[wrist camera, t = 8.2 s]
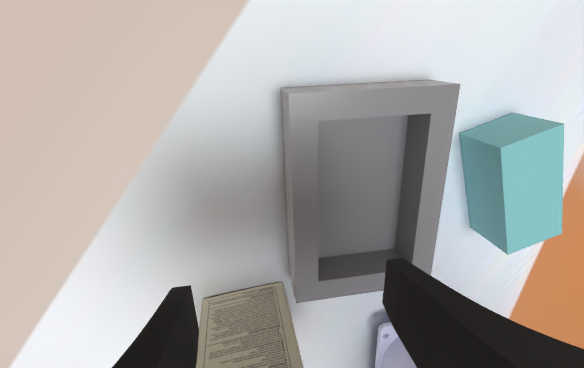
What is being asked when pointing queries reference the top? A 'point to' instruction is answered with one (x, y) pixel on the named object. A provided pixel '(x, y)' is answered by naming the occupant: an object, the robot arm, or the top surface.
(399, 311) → the robot arm
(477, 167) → the peg
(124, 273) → the top surface
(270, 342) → the skincare box
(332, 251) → the socket block
